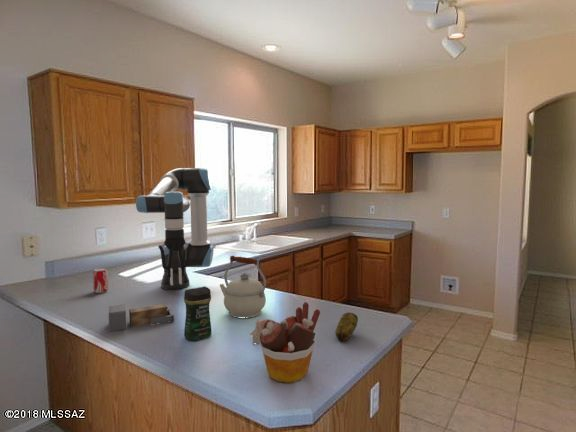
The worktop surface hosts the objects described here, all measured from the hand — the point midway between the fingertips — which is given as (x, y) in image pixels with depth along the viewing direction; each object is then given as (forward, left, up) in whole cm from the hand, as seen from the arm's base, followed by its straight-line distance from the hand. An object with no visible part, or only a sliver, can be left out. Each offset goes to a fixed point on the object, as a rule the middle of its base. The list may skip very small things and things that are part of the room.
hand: (176, 283), depth 158 cm
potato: (-54, +47, -15) cm, 73 cm away
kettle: (-27, +6, -15) cm, 31 cm away
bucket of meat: (-23, +63, -15) cm, 68 cm away
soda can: (+30, -55, -15) cm, 64 cm away
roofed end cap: (+23, 0, -15) cm, 27 cm away
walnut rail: (+11, 0, -15) cm, 19 cm away
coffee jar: (-4, +24, -15) cm, 28 cm away
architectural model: (-23, +38, -15) cm, 47 cm away
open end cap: (+7, 0, -15) cm, 16 cm away
